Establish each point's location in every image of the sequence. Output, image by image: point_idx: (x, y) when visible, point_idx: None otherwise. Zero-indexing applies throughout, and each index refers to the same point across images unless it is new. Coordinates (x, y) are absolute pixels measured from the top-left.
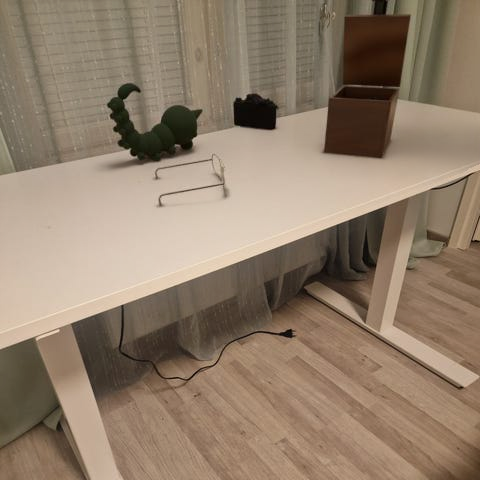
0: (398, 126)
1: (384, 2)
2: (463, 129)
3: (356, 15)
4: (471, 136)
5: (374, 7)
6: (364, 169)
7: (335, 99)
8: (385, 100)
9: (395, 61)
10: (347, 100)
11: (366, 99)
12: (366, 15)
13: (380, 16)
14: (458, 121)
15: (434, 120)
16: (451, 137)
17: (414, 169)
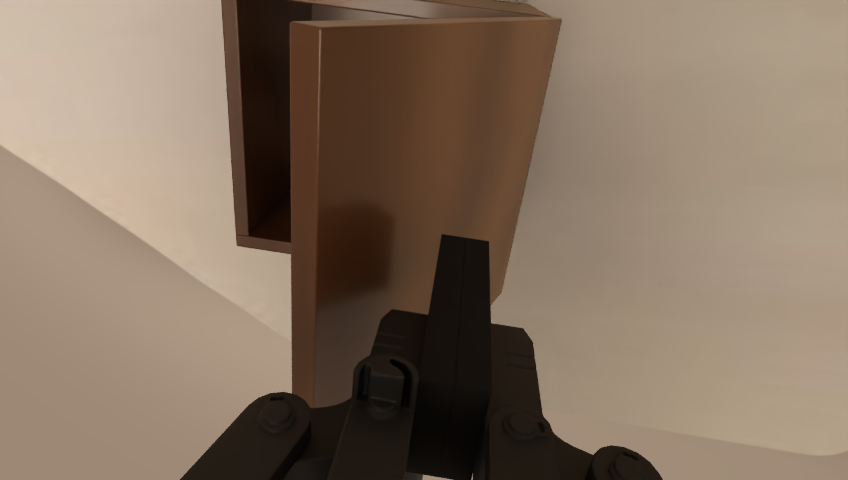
0: (679, 235)
1: (410, 444)
2: (634, 402)
3: (306, 158)
4: (559, 406)
5: (424, 344)
6: (192, 127)
7: (223, 10)
8: (246, 225)
9: None
10: (227, 71)
11: (240, 154)
12: (301, 251)
13: (292, 351)
14: (733, 406)
15: (756, 348)
16: (545, 363)
17: (242, 250)
